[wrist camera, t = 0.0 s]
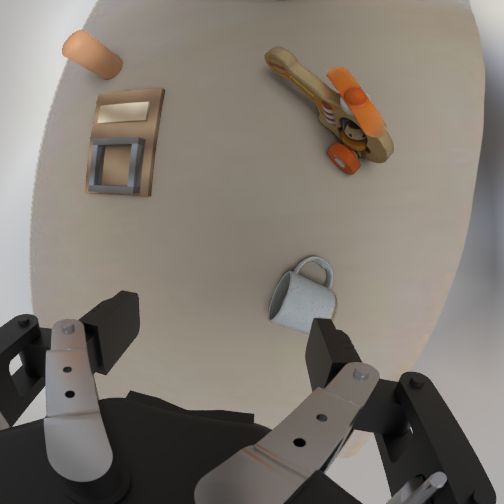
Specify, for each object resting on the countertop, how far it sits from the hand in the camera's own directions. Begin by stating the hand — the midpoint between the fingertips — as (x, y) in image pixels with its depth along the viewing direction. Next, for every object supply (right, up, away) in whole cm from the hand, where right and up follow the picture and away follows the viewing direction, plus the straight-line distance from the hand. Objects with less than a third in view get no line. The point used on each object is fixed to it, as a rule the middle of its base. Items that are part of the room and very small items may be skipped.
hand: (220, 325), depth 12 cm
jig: (-19, +21, +26) cm, 38 cm away
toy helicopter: (+12, +23, +25) cm, 36 cm away
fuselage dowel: (-23, +35, +23) cm, 48 cm away
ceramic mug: (+9, -2, +31) cm, 32 cm away
